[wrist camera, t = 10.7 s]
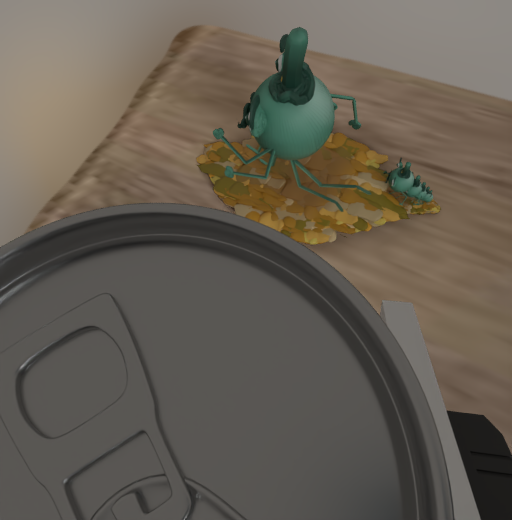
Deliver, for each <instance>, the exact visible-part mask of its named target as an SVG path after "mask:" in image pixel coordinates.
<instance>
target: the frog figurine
mask: <svg viewBox="0 0 512 520" xmlns="http://www.w3.org/2000/svg"><path fill="white" fill-rule="evenodd" d="M307 44H308V34H307V31H306V30H305V29H303V28H300V27H299V28H295V29H293V30H292V31H291V32H290V34H289V35H288V34H285V35H283V36H282V38H281V40H280V52H281V53H282V52H284V53H283V54H281V55H280V56H279V58H278V59H277V60H276V61H275V63H276V69H277V71H278V73H276V74H273V75H272V76H270V77H269V78H267V79H266V80H265V81H264V82H263V83H262V84H261V85H260V86H259V87H258V89H257V90H256V92H253V93H252V94H251V97H250V103H251V104H250V103H247V104H246V105H245V107H244V110H243V119H242V121H241V124H239V122H238V128H245V127H246V126H247V125H248V126H249V129H250V132H251V136H252V138H251V139H249V140H246V139H245V140H243V141H242V144H239V143H237V142H232V143H229V142H228V141H227V140H226V139H225V138H224V136H223V135H224V131H223V129H222V128H219V129H215V130H214V131H213V135H214V136H215V137H216V139H220V138H221V139H222V140H223V141H224V142H215V143H213V144H212V143H211V144H207V145H204V146H205V147H206V149H205V152H204V155H200V156H199V157H197V158H196V159H197V162H198V163H199V164H201V165H197V166H198V167H199V168H200V170H201V171H202V172H204V173H208V174H209V177H210V180H211V181H212V182H213V184H214V187H213V190H214V192H215V193H216V194H218V197H219V198H220V199H221V200H222V201H223V202H224V204H226V205H227V206H230V207H233V208H235V214H236V215H239V216H242V217H245V218H248V219H251V220H254V221H256V222H259V223H261V224H264V225H266V226H268V227H271V228H273V229H275V230H277V231H279V232H281V233H283V234H285V235H286V236H288V237H290V238H292V239H294V240H295V241H297V242H304V243H307V244H311V245H312V244H323V243H324V242H333V241H335V240H336V232H337V231H339V232H343V233H348V234H353V233H356V232H360V231H369V230H370V229H371V228H372V226H373V227H378V226H380V225H383V224H385V223H386V222H387V221H391V222H393V221H397V220H401V219H410V218H408V216H407V214H419V215H420V214H425V213H432V214H435V213H438V212H440V210H441V208H440V206H439V205H438V204H437V203H436V202H435V200H434V199H433V195H432V190H431V191H429V189H430V187H427V188H426V187H425V185H426V183H425V182H423V184H421V182H420V180H419V179H420V176H419V175H418V176H417V177H416V179H414V175H413V172H411V171H410V166H411V163H410V162H407V163H406V165H405V167H404V168H403V167H402V166H403V165H402V162H401V159H402V158H401V159H400V162H399V163H398V164H397V167H398V168H397V169H395V170H393V171H392V170H391V172H390V173H387V171H383V170H380V169H378V168H379V167H380V164H383V163H384V162H386V161H388V156H387V155H380V154H378V153H376V152H375V151H373V150H369V148H368V147H367V146H366V145H364V144H361V143H359V142H356V141H354V140H352V139H350V138H347V137H346V136H345V135H344V134H342V133H335V134H334V133H331V132H332V129H333V125H334V110H336V109H337V105H336V104H335V103H333V101H332V98H339V99H347V100H353V101H352V103H353V111H354V120H351V121H349V125H352V127H353V128H354V129H356V130H357V129H359V128H360V127H361V124H360V123H359V122H358V120H357V110H356V100H355V98H353V97H350V96H342V95H335V94H330V93H329V90H328V89H327V87H326V86H325V85H324V83H322V81H321V80H319V79H318V78H317V77H315V76H314V75H313V73H312V72H311V69H310V68H309V65H308V64H306V63H305V62H304V57H305V53H306V49H307ZM284 49H285V51H284ZM340 235H341V234H340ZM342 236H343V235H342ZM344 237H345V236H344Z"/></svg>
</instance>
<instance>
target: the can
mask: <svg viewBox="0 0 512 520" xmlns="http://www.w3.org/2000/svg"><path fill="white" fill-rule="evenodd" d="M0 520H455V518H454V509H453V499H452V493H451V486H450V480H449V475H448V469H447V464H446V460H445V456H444V452H443V447H442V444H441V440H440V437H439V433H438V430H437V426H436V423H435V420H434V418H433V415H432V412H431V409H430V406H429V404H428V401H427V399H426V396H425V394H424V391H423V389H422V387H421V385H420V382H419V380H418V378H417V376H416V374H415V372H414V370H413V368H412V366H411V364H410V362H409V360H408V359H407V357H406V355H405V353H404V351H403V350H402V348H401V346H400V345H399V343H398V342H397V340H396V338H395V337H394V335H393V334H392V332H391V331H390V329H389V328H388V326H387V325H386V324H385V322H384V321H383V320H382V318H381V317H380V316H379V314H378V313H377V312H376V311H375V309H374V308H373V307H372V306H371V304H370V303H369V302H368V301H367V300H366V299H365V298H364V296H363V295H362V294H361V293H360V292H359V291H358V290H357V289H356V288H355V287H354V286H353V285H352V284H351V283H350V282H349V281H348V280H347V279H346V278H345V277H344V276H343V275H342V274H340V273H339V272H338V271H337V270H336V269H335V268H333V267H332V266H331V265H330V264H329V263H327V262H326V261H325V260H324V259H322V258H321V257H320V256H318V255H317V254H315V253H314V252H313V251H311V250H310V249H308V248H307V247H305V246H304V245H302V244H300V243H299V242H297V241H295V240H294V239H292V238H290V237H288V236H286V235H285V234H283V233H281V232H279V231H277V230H275V229H273V228H271V227H268V226H266V225H264V224H261V223H259V222H256V221H254V220H251V219H248V218H245V217H242V216H239V215H236V214H233V213H229V212H225V211H221V210H217V209H212V208H207V207H201V206H195V205H187V204H176V203H139V204H127V205H119V206H112V207H106V208H101V209H96V210H92V211H87V212H84V213H80V214H76V215H73V216H70V217H67V218H63V219H61V220H58V221H55V222H52V223H50V224H47V225H45V226H42V227H40V228H37V229H35V230H33V231H31V232H28V233H26V234H24V235H22V236H20V237H18V238H16V239H14V240H13V241H11V242H9V243H7V244H5V245H4V246H2V247H0Z"/></svg>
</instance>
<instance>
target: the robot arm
mask: <svg viewBox="0 0 512 520" xmlns="http://www.w3.org/2000/svg"><path fill="white" fill-rule="evenodd" d="M380 317H381V318H382V320H383V321H384V322H385V324H386V325H387V326H388V328H389V329H390V331H391V332H392V334H393V335H394V337H395V338H396V340H397V342H398V343H399V345H400V346H401V348H402V350H403V351H404V353H405V355H406V357H407V359H408V360H409V362H410V364H411V366H412V368H413V370H414V372H415V374H416V376H417V378H418V380H419V382H420V385H421V387H422V389H423V391H424V394H425V396H426V399H427V401H428V404H429V406H430V409H431V412H432V415H433V418H434V420H435V423H436V426H437V430H438V433H439V437H440V440H441V444H442V447H443V452H444V456H445V460H446V464H447V469H448V475H449V480H450V486H451V493H452V499H453V509H454V518H455V520H512V455H511V452H510V450H509V448H508V446H507V443H506V441H505V439H504V437H503V435H502V434H501V433H500V432H499V431H498V430H497V429H496V428H495V427H494V426H493V424H492V423H491V422H490V421H489V420H488V419H487V418H486V417H485V416H484V415H478V414H470V413H461V412H453V411H446V408H445V405H444V402H443V399H442V396H441V392H440V389H439V386H438V383H437V380H436V377H435V373H434V370H433V367H432V364H431V361H430V358H429V354H428V351H427V348H426V345H425V342H424V339H423V336H422V332H421V329H420V326H419V323H418V320H417V317H416V313H415V310H414V307H413V304H412V303H408V302H397V301H386V300H382V306H381V313H380Z"/></svg>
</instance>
